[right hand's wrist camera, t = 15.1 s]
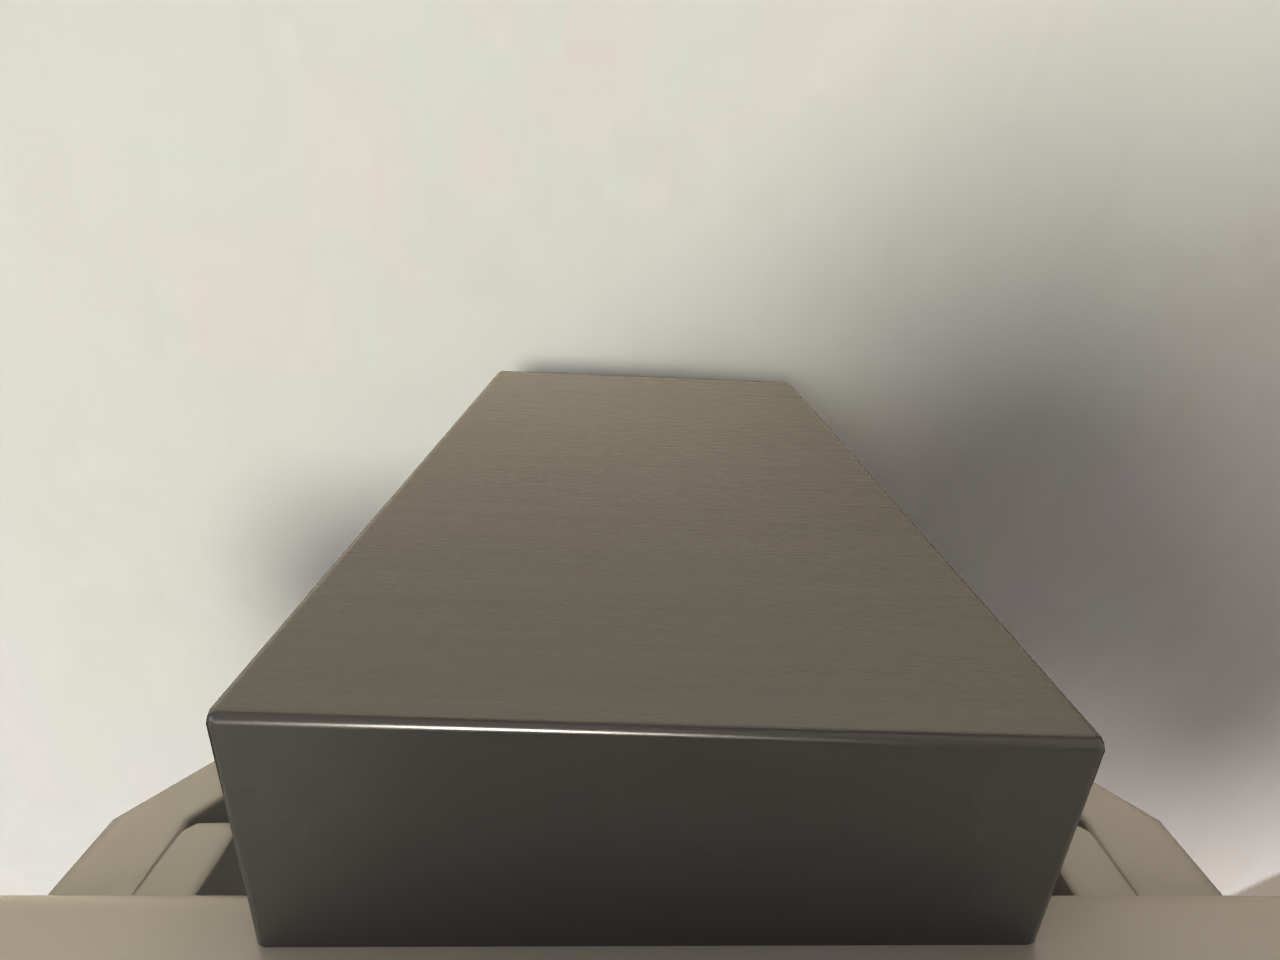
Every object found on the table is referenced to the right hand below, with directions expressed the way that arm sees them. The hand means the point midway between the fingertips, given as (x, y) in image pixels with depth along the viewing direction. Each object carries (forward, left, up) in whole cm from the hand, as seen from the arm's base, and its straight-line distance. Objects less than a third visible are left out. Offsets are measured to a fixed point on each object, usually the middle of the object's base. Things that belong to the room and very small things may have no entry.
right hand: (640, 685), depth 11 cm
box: (-1, +7, -5) cm, 8 cm away
